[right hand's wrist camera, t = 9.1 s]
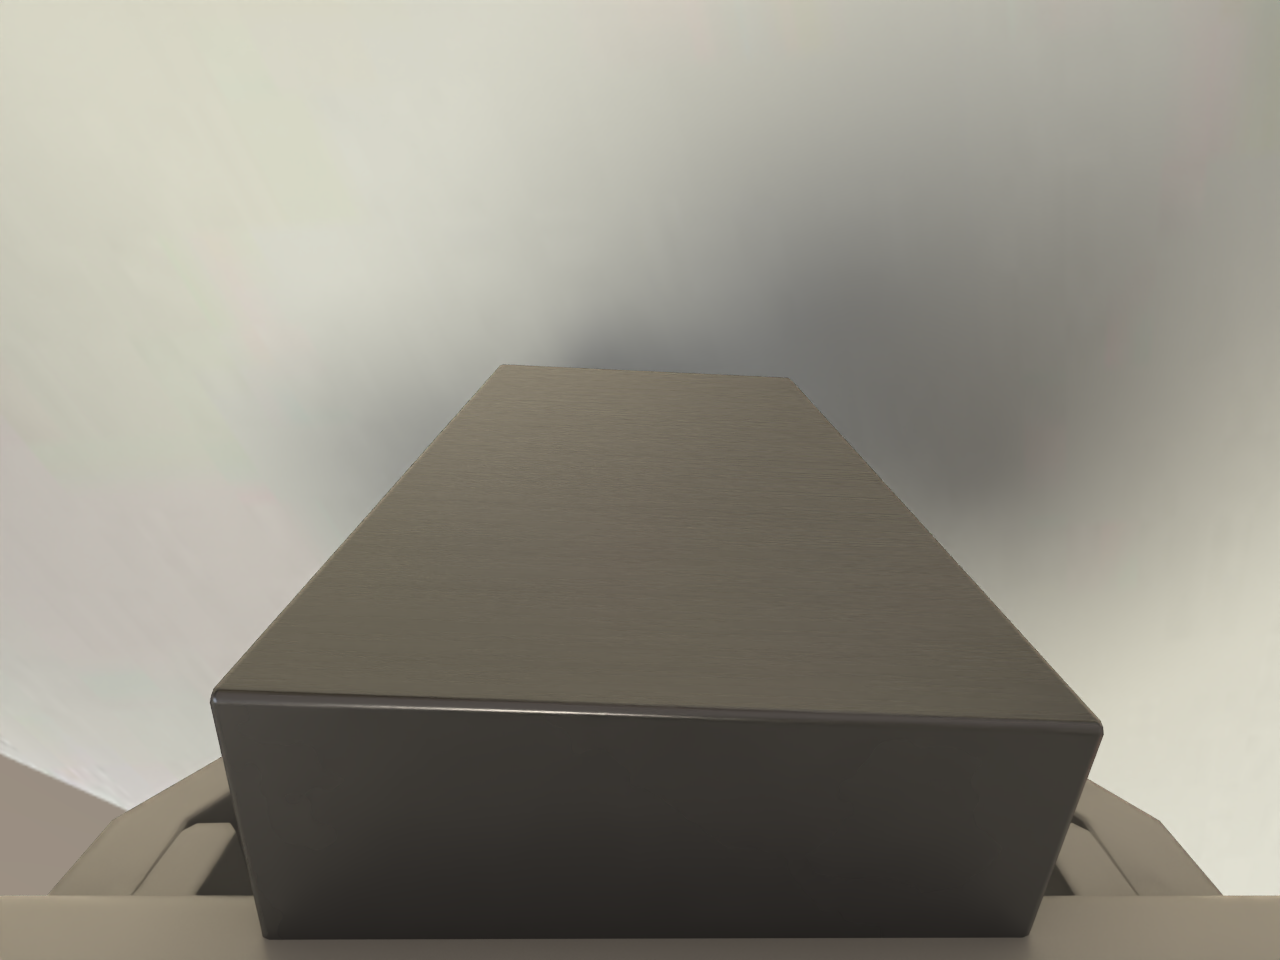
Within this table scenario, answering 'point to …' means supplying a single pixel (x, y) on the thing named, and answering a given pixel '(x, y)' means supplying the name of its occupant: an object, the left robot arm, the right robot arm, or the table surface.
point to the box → (646, 692)
